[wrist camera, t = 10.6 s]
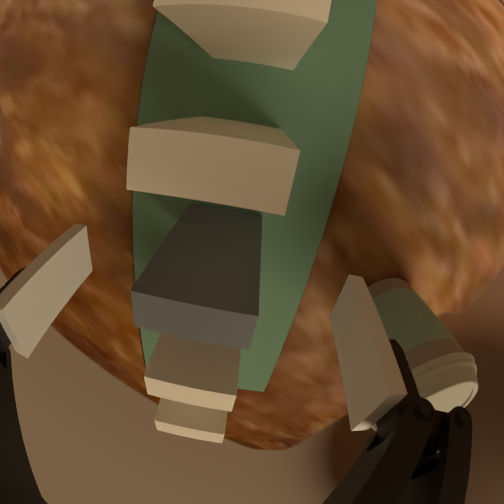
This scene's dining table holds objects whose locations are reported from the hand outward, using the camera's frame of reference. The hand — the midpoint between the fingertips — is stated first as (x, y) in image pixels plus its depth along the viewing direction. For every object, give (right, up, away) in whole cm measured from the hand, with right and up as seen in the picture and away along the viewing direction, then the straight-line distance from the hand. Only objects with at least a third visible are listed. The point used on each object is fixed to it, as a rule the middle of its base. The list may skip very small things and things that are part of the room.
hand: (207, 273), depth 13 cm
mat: (0, +3, +7) cm, 8 cm away
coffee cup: (+14, -4, +10) cm, 18 cm away
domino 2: (+1, +8, +4) cm, 9 cm away
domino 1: (+2, +13, +1) cm, 14 cm away
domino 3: (-1, -2, +9) cm, 10 cm away
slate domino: (0, +3, +6) cm, 7 cm away
